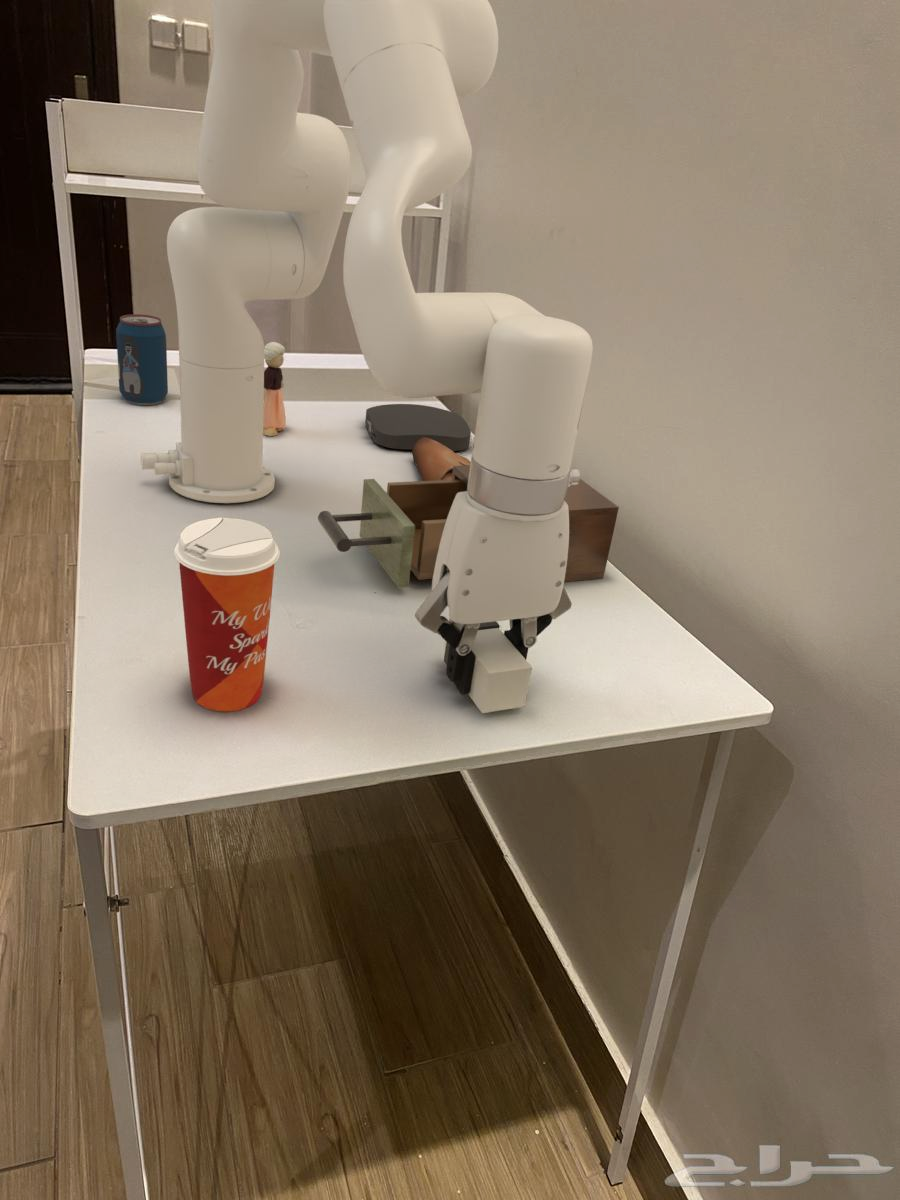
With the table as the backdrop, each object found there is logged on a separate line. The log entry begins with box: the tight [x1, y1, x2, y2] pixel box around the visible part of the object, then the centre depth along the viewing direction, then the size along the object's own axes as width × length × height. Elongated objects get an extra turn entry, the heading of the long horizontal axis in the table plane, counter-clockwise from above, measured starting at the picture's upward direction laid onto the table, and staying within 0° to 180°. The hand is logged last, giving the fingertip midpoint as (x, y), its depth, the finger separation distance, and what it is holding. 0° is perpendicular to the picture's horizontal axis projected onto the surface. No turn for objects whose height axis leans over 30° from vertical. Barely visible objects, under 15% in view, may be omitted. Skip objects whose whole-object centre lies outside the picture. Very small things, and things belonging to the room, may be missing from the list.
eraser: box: [443, 621, 533, 714], centre depth 77 cm, size 8×4×4 cm, turn 23°
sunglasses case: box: [411, 438, 471, 481], centre depth 120 cm, size 18×7×7 cm
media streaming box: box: [364, 403, 472, 452], centre depth 137 cm, size 15×15×3 cm
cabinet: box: [452, 465, 620, 583], centre depth 102 cm, size 14×14×9 cm
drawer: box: [317, 478, 467, 589], centre depth 96 cm, size 18×12×7 cm
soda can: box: [115, 313, 169, 406], centre depth 135 cm, size 7×7×12 cm
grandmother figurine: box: [263, 341, 287, 437], centre depth 129 cm, size 8×4×13 cm, turn 179°
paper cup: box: [173, 517, 281, 712], centre depth 71 cm, size 8×8×14 cm
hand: (483, 680), depth 78 cm, fingers closed on eraser, 4 cm apart
